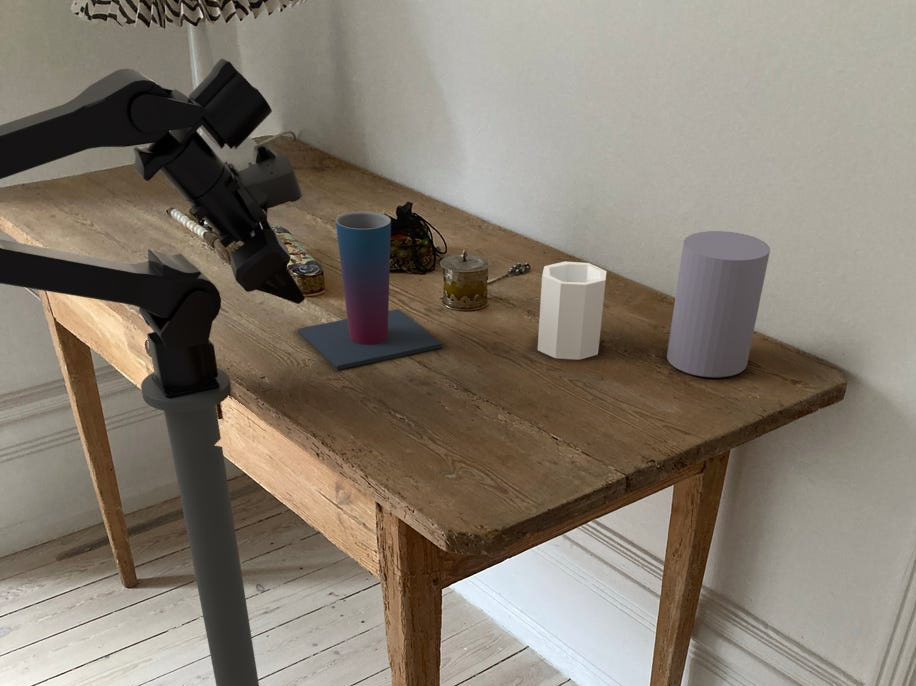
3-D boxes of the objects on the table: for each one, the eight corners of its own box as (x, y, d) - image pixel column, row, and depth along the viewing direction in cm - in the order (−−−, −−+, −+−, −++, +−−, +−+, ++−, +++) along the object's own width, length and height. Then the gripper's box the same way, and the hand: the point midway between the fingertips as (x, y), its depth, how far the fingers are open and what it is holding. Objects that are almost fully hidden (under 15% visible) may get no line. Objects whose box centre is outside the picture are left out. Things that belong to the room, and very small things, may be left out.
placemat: (337, 370, 129) (337, 365, 129) (298, 332, 138) (297, 328, 138) (442, 347, 135) (442, 343, 135) (398, 313, 144) (398, 308, 144)
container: (671, 341, 138) (688, 227, 129) (748, 351, 137) (771, 236, 127) (661, 373, 131) (679, 254, 121) (744, 384, 129) (768, 264, 119)
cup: (363, 352, 132) (357, 232, 123) (332, 334, 136) (324, 218, 127) (404, 338, 136) (402, 221, 126) (374, 322, 140) (369, 207, 130)
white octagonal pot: (609, 357, 134) (617, 282, 128) (546, 362, 132) (551, 287, 126) (579, 321, 143) (585, 249, 137) (520, 326, 141) (523, 253, 135)
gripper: (278, 170, 104) (366, 279, 115) (245, 97, 115) (328, 202, 127) (195, 239, 106) (289, 338, 118) (170, 160, 117) (259, 258, 129)
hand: (293, 281), depth 123 cm, fingers open, 9 cm apart
